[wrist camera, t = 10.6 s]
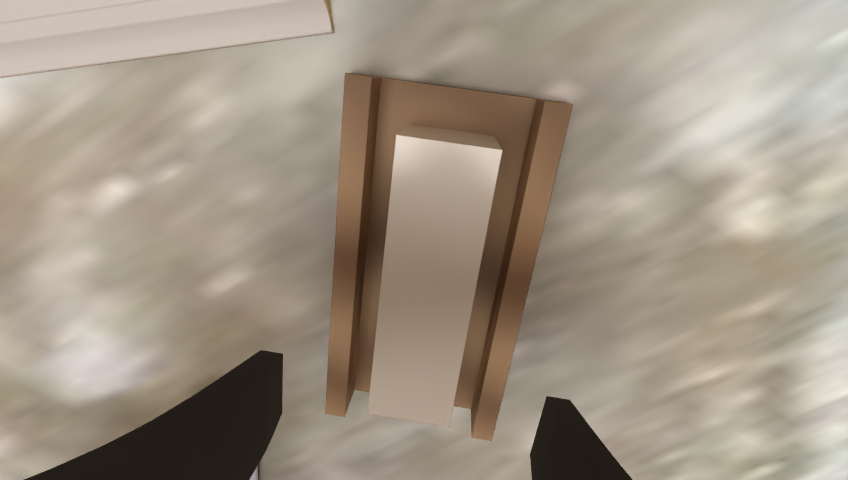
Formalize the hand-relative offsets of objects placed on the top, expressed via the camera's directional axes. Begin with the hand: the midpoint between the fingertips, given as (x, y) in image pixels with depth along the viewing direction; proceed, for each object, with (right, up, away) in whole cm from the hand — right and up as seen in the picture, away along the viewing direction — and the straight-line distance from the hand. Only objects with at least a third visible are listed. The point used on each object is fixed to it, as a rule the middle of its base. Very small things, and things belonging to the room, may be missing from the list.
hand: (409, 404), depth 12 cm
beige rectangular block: (+1, +4, +9) cm, 9 cm away
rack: (+1, +4, +10) cm, 10 cm away
